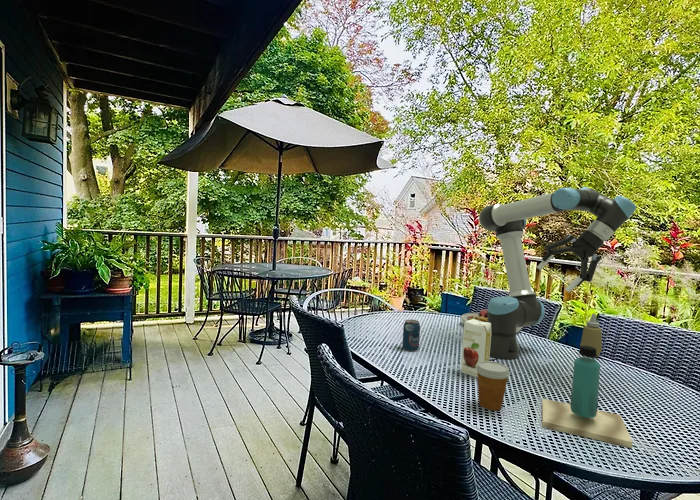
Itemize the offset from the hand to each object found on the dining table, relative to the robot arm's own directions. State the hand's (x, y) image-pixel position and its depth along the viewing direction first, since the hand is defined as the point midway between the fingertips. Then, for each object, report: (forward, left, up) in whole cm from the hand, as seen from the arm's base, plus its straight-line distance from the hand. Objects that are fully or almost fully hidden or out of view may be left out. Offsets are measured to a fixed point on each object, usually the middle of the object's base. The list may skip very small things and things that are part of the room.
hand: (552, 280), depth 148 cm
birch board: (+9, -40, -34) cm, 53 cm away
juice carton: (-23, -18, -35) cm, 45 cm away
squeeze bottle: (+18, +32, -35) cm, 50 cm away
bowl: (-25, +54, -35) cm, 69 cm away
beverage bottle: (+9, -40, -33) cm, 53 cm away
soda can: (-51, -4, -35) cm, 62 cm away
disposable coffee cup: (-15, -42, -35) cm, 57 cm away
